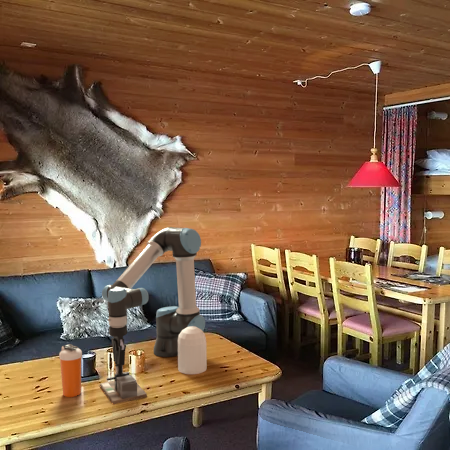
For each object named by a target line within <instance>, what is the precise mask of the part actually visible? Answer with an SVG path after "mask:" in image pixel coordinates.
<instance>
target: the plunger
mask: <svg viewBox="0 0 450 450" xmlns="http://www.w3.org/2000/svg"><path fill="white" fill-rule="evenodd" d="M113 375H114V376H111V377H107V378H106V382H109V381H115V389H117V377H122V376H127V375H131V374H130V372H129V371H123V373H118V374H116V373H114V374H113Z"/></svg>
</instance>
